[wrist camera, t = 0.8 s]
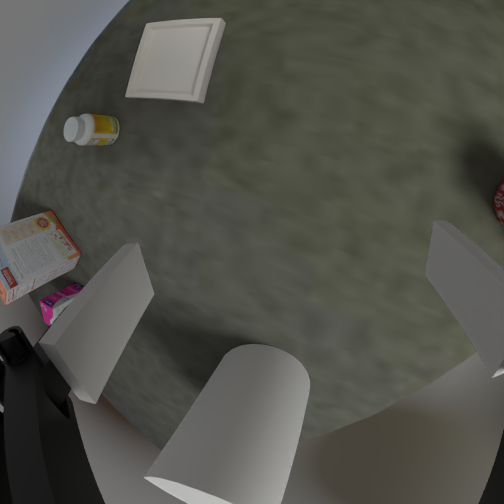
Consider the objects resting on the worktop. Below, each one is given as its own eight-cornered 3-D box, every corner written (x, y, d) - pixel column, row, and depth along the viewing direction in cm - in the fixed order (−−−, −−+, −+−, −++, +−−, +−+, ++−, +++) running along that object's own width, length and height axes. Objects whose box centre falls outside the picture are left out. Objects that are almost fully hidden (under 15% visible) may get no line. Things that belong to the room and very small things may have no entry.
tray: (153, 27, 35) (146, 23, 33) (226, 23, 32) (221, 18, 30) (132, 98, 40) (125, 97, 38) (203, 103, 37) (197, 101, 35)
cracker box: (46, 226, 55) (-23, 251, 36) (52, 208, 53) (-22, 232, 34) (75, 270, 56) (4, 307, 36) (82, 254, 53) (5, 290, 34)
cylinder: (249, 325, 46) (163, 465, 20) (330, 380, 45) (302, 528, 19) (204, 377, 53) (130, 484, 27) (274, 421, 52) (229, 535, 26)
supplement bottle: (113, 149, 44) (72, 152, 35) (96, 137, 44) (57, 138, 35) (125, 123, 41) (84, 119, 33) (108, 111, 42) (68, 108, 33)
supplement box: (89, 288, 55) (53, 309, 45) (93, 310, 57) (59, 333, 47) (74, 281, 57) (38, 300, 46) (77, 302, 59) (44, 323, 48)
